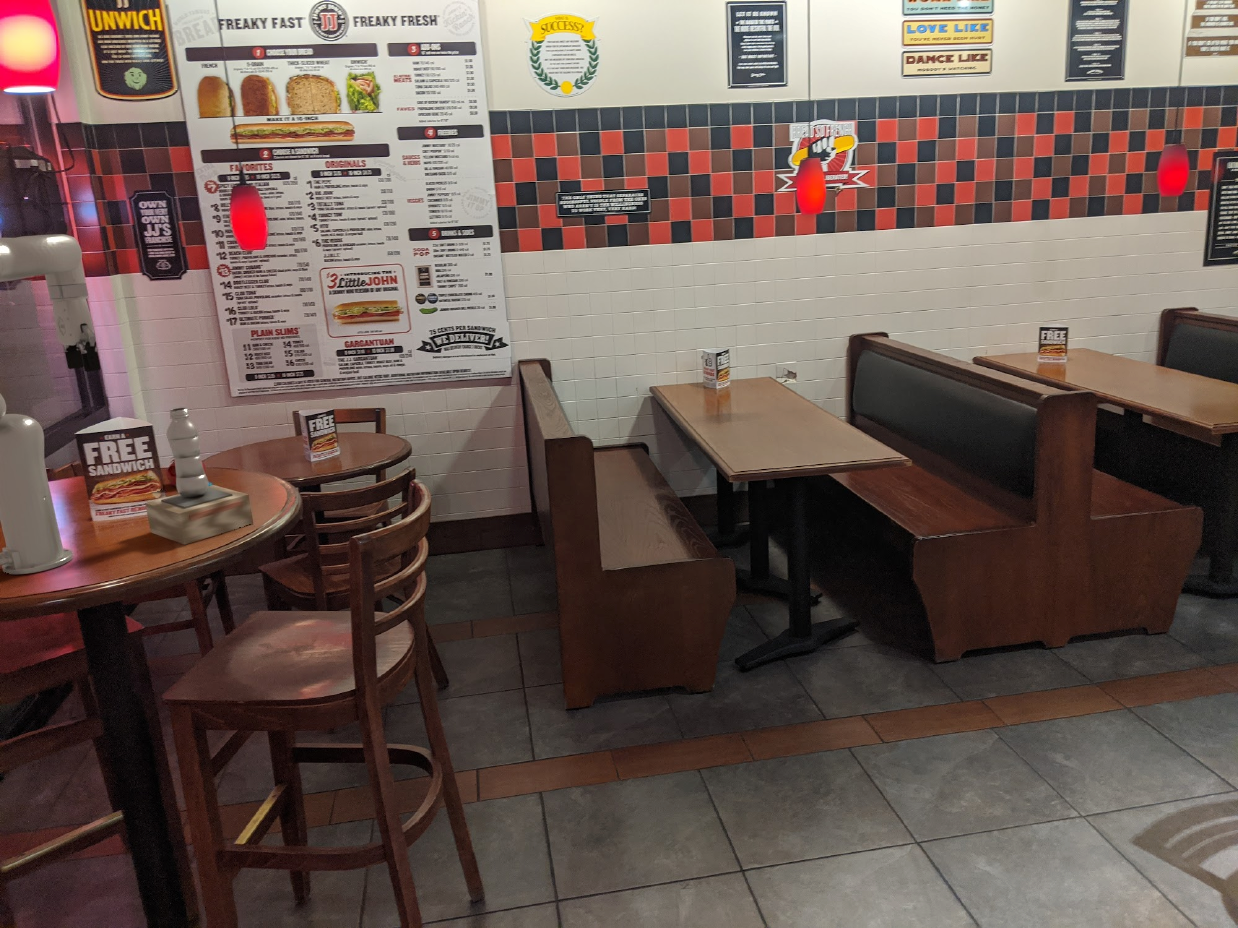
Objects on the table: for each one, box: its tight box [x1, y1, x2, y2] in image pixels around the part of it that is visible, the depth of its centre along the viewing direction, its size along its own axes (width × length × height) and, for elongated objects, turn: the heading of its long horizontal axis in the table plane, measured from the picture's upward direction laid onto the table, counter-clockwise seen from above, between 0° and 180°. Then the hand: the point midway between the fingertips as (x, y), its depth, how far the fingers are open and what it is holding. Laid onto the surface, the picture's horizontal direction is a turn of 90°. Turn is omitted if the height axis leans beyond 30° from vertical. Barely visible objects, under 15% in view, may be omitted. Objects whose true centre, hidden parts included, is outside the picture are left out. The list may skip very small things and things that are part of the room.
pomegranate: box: [165, 456, 207, 487], centre depth 248 cm, size 10×10×9 cm
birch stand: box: [144, 484, 254, 545], centre depth 208 cm, size 16×16×7 cm
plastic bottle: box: [165, 407, 210, 497], centre depth 205 cm, size 6×7×20 cm
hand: (84, 369), depth 209 cm, fingers open, 9 cm apart
